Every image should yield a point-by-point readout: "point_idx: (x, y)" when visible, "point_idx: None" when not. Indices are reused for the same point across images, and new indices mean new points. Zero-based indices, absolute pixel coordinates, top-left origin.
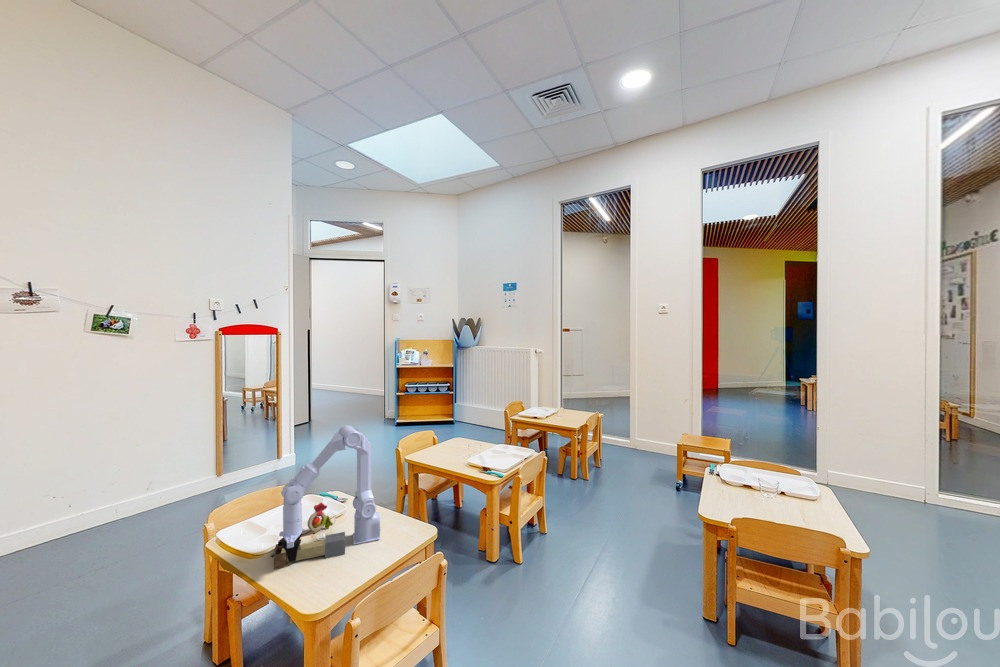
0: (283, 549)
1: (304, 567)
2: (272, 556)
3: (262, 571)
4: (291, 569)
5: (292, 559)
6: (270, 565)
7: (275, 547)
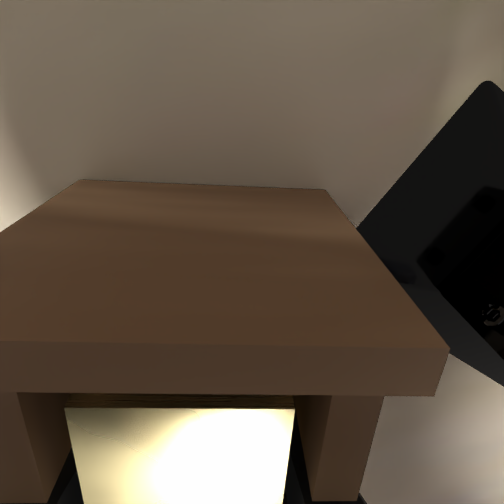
0: (223, 434)
1: None
2: (458, 128)
3: (67, 5)
4: None
5: None
6: (208, 122)
7: (246, 353)
